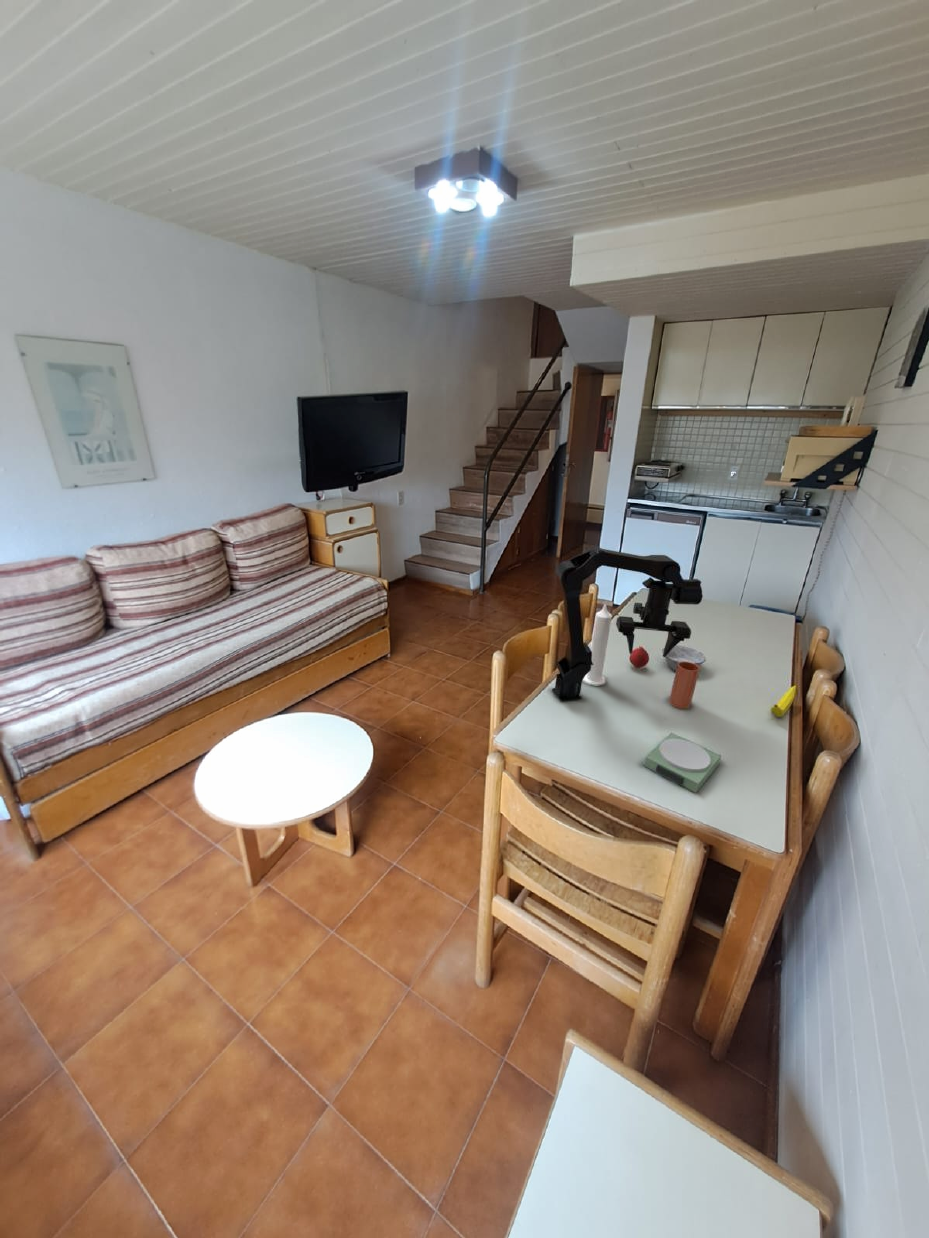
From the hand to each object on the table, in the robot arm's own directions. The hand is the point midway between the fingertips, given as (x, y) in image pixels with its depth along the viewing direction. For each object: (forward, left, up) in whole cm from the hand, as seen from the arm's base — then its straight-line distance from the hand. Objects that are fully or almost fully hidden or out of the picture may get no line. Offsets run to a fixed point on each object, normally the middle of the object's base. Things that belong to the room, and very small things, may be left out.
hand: (647, 654), depth 138 cm
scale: (-8, -29, -13) cm, 33 cm away
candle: (-9, +11, -13) cm, 19 cm away
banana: (+34, -16, -13) cm, 40 cm away
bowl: (+24, +13, -13) cm, 30 cm away
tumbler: (+9, -6, -13) cm, 17 cm away
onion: (+9, +15, -13) cm, 22 cm away
